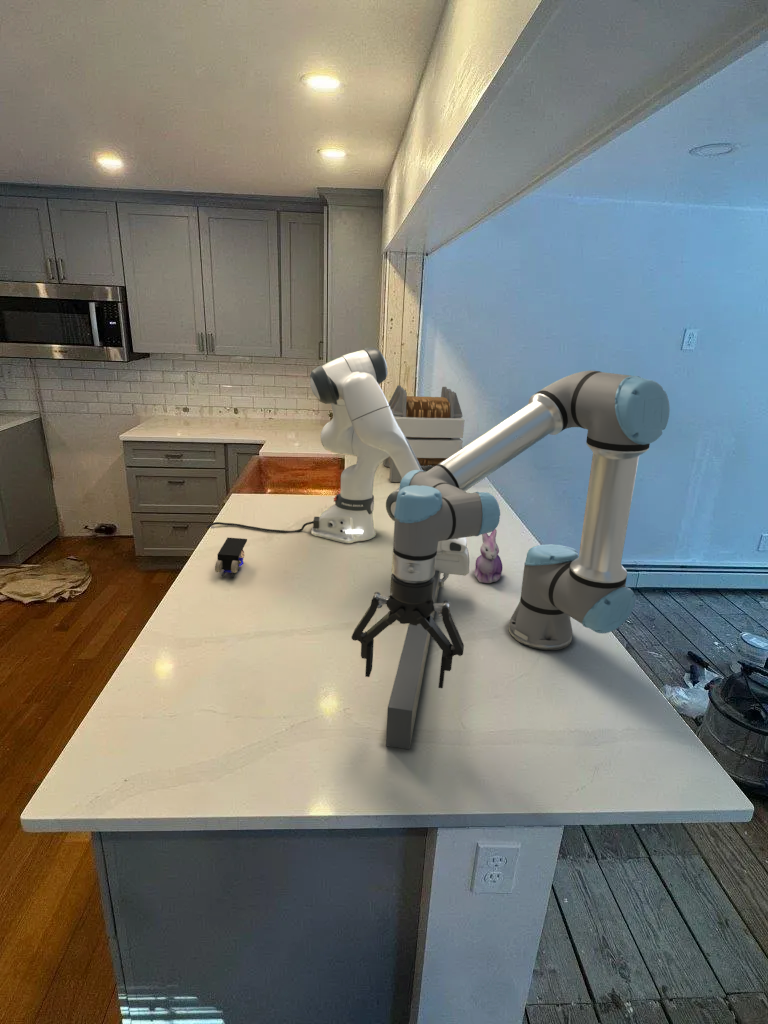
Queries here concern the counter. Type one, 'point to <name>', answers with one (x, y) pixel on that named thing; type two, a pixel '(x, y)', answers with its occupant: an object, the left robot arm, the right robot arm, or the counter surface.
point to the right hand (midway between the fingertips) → (404, 678)
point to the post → (408, 683)
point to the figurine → (488, 560)
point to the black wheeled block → (230, 556)
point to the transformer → (427, 426)
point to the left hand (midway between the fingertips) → (430, 584)
